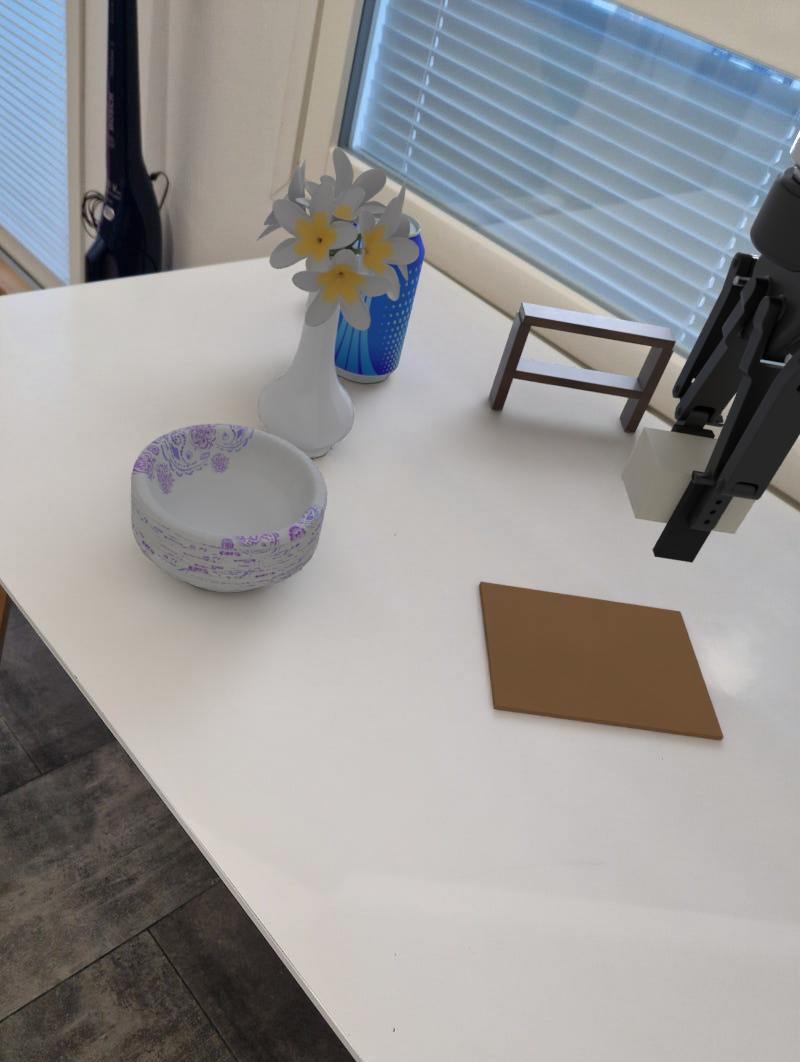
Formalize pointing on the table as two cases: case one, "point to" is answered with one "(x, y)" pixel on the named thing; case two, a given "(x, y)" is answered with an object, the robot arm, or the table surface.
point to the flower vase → (331, 292)
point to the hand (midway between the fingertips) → (663, 529)
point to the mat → (594, 661)
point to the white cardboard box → (672, 476)
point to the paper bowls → (226, 506)
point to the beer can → (379, 325)
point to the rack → (579, 378)
